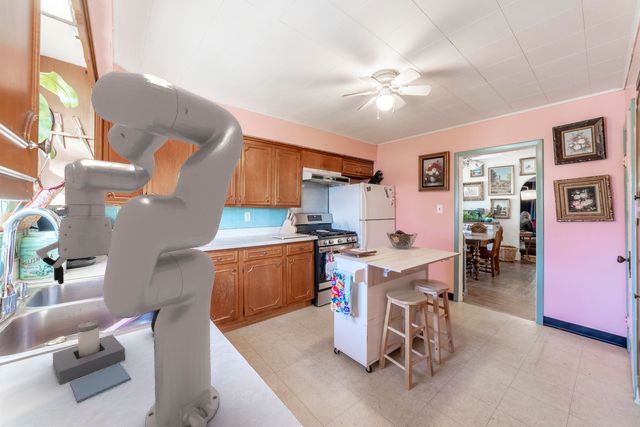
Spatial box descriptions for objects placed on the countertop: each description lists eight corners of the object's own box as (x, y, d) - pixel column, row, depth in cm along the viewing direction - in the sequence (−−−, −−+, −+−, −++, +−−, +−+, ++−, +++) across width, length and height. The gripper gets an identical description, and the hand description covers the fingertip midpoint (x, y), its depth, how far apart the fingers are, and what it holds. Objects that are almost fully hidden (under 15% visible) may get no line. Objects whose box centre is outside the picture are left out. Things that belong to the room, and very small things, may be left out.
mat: (130, 379, 58) (130, 377, 58) (77, 403, 51) (77, 400, 51) (119, 364, 64) (119, 362, 64) (70, 384, 57) (70, 382, 57)
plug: (102, 361, 65) (101, 323, 65) (80, 369, 62) (79, 329, 62) (98, 355, 68) (97, 319, 68) (76, 363, 65) (75, 324, 65)
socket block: (125, 359, 66) (124, 348, 66) (59, 385, 57) (59, 371, 57) (112, 344, 74) (112, 334, 73) (52, 364, 64) (52, 353, 64)
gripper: (36, 213, 55) (38, 290, 56) (131, 212, 69) (132, 274, 69) (33, 212, 60) (35, 283, 60) (123, 211, 73) (124, 270, 74)
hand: (87, 278), depth 65 cm, fingers open, 9 cm apart
